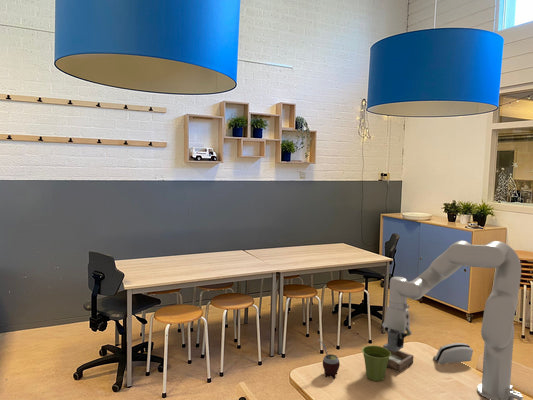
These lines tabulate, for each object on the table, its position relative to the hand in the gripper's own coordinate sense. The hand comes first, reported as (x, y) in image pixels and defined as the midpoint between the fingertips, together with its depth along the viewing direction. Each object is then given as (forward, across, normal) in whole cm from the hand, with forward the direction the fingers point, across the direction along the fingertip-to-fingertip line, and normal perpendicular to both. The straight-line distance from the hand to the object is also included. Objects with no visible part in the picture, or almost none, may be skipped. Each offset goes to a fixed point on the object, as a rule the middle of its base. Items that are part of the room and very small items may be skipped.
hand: (395, 344), depth 180 cm
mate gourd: (+9, +14, +30) cm, 34 cm away
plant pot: (+9, -1, +17) cm, 19 cm away
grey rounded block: (+9, -18, -22) cm, 29 cm away
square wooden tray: (+9, 0, 0) cm, 9 cm away
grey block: (+2, 0, 0) cm, 2 cm away
